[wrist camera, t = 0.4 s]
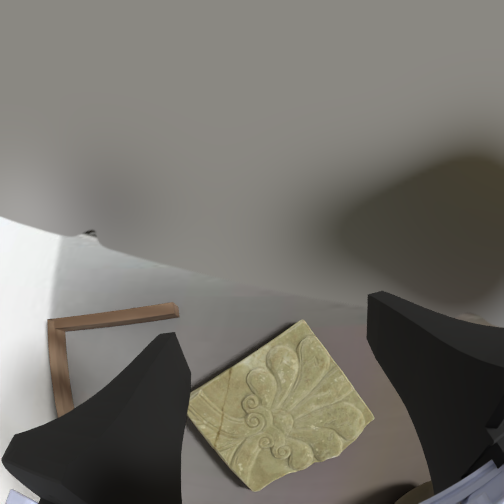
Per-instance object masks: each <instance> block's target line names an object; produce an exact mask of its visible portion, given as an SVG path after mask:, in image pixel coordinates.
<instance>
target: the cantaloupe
mask: <svg viewBox="0 0 504 504" xmlns="http://www.w3.org/2000/svg"><path fill="white" fill-rule="evenodd" d="M433 496H435V495H434V490H433V485H432V480H431V481H429V482H426V483H424V484H422V485H420V486H418V487H416V488H414V489H412V490H411V491H409V492H408V493H406V494H405V495H403V496H402V497H401V498H400V499H398V500H397V501H396V502H395V503H394V504H419V503H421V502H423V501H425V500H427V499H429V498H431V497H433ZM461 503H462V502H461ZM461 503H460V504H461Z"/></svg>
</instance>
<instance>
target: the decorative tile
mask: <svg viewBox="0 0 504 504" xmlns="http://www.w3.org/2000/svg"><path fill="white" fill-rule="evenodd" d="M187 416H188V417H189V418H190V420H191V421H192V422H193V424H194V425H195V426H196V427H197V429H198V430H199V431H200V433H201V434H202V435H203V436H204V438H205V439H206V440H207V442H208V443H209V444H210V445H211V447H212V448H213V449H214V450H215V451H216V452H217V453H218V455H219V456H220V457H221V459H222V460H223V461H224V462H225V463H226V464H227V466H228V467H229V468H230V469H231V470H232V471H233V472H234V473H235V474H236V475H237V476H238V477H239V478H240V479H241V480H242V481H243V482H244V483H245V485H247V486H248V487H249V488H250V489H251V490H252V491H253V492H257V491H259V490H261V489H263V488H264V487H265V486H267V485H268V484H269V483H271V482H272V481H274V480H276V479H279V478H280V477H282V476H284V475H286V474H289V473H291V472H297V471H299V470H304V469H306V468H307V467H308V466H310V465H312V464H313V463H314V462H323V461H325V460H326V459H329V458H333V457H337V456H339V455H340V453H341V452H342V451H343V450H344V449H345V448H346V447H347V446H348V445H350V444H351V443H352V442H353V441H354V440H356V438H357V437H358V436H359V435H360V433H361V432H362V431H363V429H364V427H365V426H366V425H367V424H368V423H369V422H371V421H372V420H374V416H373V414H372V413H371V411H370V410H369V409H368V407H367V406H366V404H365V403H364V402H363V400H362V399H361V397H360V396H359V395H358V394H357V392H356V391H355V389H354V388H353V386H352V384H351V383H350V382H349V380H348V379H347V377H346V376H345V374H344V373H343V372H342V370H341V369H340V368H339V367H338V365H337V364H336V363H335V361H334V360H333V359H332V358H331V356H330V355H329V353H328V352H327V350H326V349H325V347H324V346H323V345H322V344H321V342H320V341H319V340H318V339H317V337H316V336H315V335H314V333H313V332H312V331H311V329H310V328H309V326H308V325H307V324H306V322H305V321H304V320H300V321H299V322H297V323H296V324H294V325H293V326H292V327H290V328H289V329H287V330H286V331H285V332H283V333H282V334H280V335H279V336H277V337H276V338H274V339H273V340H272V341H270V342H269V343H267V344H266V345H264V346H263V347H261V348H260V349H258V350H257V351H255V352H254V353H252V354H251V355H249V356H248V357H246V358H245V359H243V360H242V361H240V362H239V363H237V364H236V365H234V366H233V367H231V368H229V369H227V370H226V371H224V372H223V373H221V374H219V375H218V376H216V377H215V378H213V379H212V380H210V381H208V382H207V383H205V384H204V385H202V386H200V387H199V388H197V389H196V390H194V391H192V392H191V393H190V400H189V406H188V412H187Z"/></svg>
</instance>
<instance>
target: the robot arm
mask: <svg viewBox="0 0 504 504" xmlns="http://www.w3.org/2000/svg"><path fill="white" fill-rule="evenodd" d="M367 340H368V343H369V345H370V347H371V349H372V351H373V354H374V356H375V358H376V360H377V361H378V363H379V364H380V366H381V367H382V369H383V371H384V372H385V374H386V375H387V377H388V378H389V380H390V382H391V383H392V385H393V386H394V388H395V389H396V391H397V393H398V394H399V396H400V397H401V399H402V401H403V403H404V404H405V406H406V408H407V411H408V413H409V415H410V417H411V420H412V422H413V424H414V427H415V429H416V432H417V434H418V437H419V440H420V442H421V445H422V448H423V451H424V454H425V458H426V461H427V464H428V468H429V472H430V476H431V480H432V485H433V490H434V495H435V496H433V497H431V498H429V499H427V500H425V501H423V502H421V503H419V504H460V503H461V502H462V503H461V504H504V328H499V327H492V326H485V325H479V324H474V323H470V322H466V321H462V320H458V319H455V318H452V317H448V316H446V315H443V314H440V313H437V312H434V311H432V310H429V309H426V308H424V307H422V306H419V305H416V304H414V303H412V302H409V301H407V300H405V299H402V298H400V297H397V296H395V295H392V294H390V293H387V292H384V291H380V292H377V293H372V294H369V295H368V311H367ZM190 390H191V371H190V369H189V367H188V364H187V362H186V359H185V357H184V355H183V352H182V350H181V347H180V344H179V342H178V339H177V337H176V334H175V332H172V333H164V334H159V335H158V336H157V337H156V338H155V339H154V340H153V341H152V342H151V343H150V344H149V345H148V346H147V347H146V348H145V349H144V350H143V351H142V352H141V353H140V354H139V355H138V356H137V357H136V358H135V359H134V360H133V361H132V362H131V363H130V364H129V365H128V366H127V367H126V368H125V369H124V370H123V371H122V372H121V373H120V374H119V375H118V376H117V377H115V378H114V379H113V380H112V381H111V382H110V383H109V384H108V385H107V386H105V387H104V388H103V389H102V390H100V391H99V392H98V393H97V394H95V395H94V396H93V397H91V398H90V399H88V400H87V401H86V402H84V403H82V404H81V405H79V406H78V407H76V408H74V409H73V410H71V411H70V412H68V413H66V414H64V415H63V416H61V417H59V418H57V419H55V420H53V421H51V422H48V423H46V424H44V425H42V426H39V427H36V428H34V429H31V430H28V431H25V432H22V433H19V434H15V435H14V437H13V438H12V440H11V442H10V444H9V446H8V448H7V449H6V451H5V453H4V455H3V457H2V463H3V465H4V467H5V468H6V469H7V470H8V471H9V472H10V473H11V474H12V475H13V476H14V477H15V478H16V479H17V480H19V481H20V482H21V483H22V484H23V485H25V486H26V487H27V488H29V489H30V490H31V491H32V492H34V493H35V494H36V495H38V496H39V497H41V498H40V501H39V503H37V502H36V501H34V500H32V499H30V498H29V497H27V496H25V495H23V494H21V493H19V492H17V491H15V490H13V489H11V490H10V493H9V495H8V497H7V500H6V503H5V504H182V497H181V450H182V441H183V435H184V429H185V423H186V418H187V412H188V406H189V400H190Z"/></svg>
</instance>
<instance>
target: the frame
mask: <svg viewBox="0 0 504 504" xmlns="http://www.w3.org/2000/svg"><path fill="white" fill-rule="evenodd" d="M177 317H179V310H178V306H176V305H175V304H174V303H173V302H171V303H165V304H158V305H152V306H145V307H139V308H132V309H125V310H118V311H111V312H104V313H96V314H89V315H81V316H73V317H65V318H56V319H47V320H48V344H49V358H50V368H51V377H52V384H53V391H54V398H55V404H56V409H57V414H58V418H59V417H61V416H63V415H64V414H66V413H68V412H70V411H71V410H73V409H74V405H73V399H72V393H71V387H70V379H69V372H68V363H67V352H66V339H65V331H75V330H85V329H94V328H103V327H112V326H120V325H128V324H136V323H143V322H150V321H157V320H164V319H171V318H177Z"/></svg>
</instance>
